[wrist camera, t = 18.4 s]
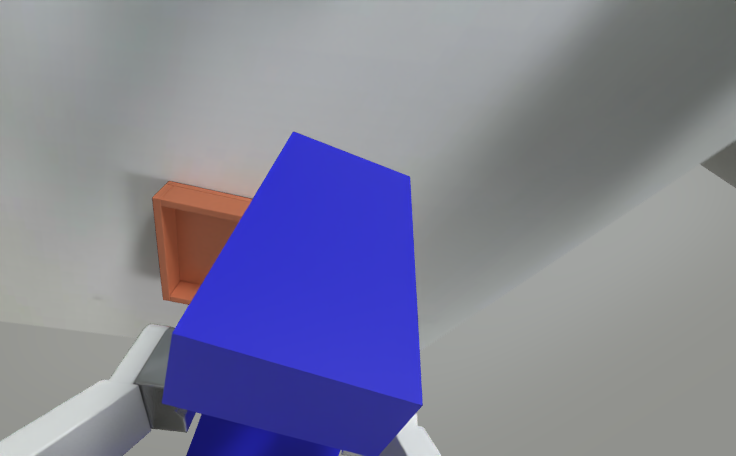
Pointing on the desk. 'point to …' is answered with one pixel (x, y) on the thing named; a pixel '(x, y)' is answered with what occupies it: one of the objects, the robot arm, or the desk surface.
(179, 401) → the cable clip
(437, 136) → the desk surface
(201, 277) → the clay tray
